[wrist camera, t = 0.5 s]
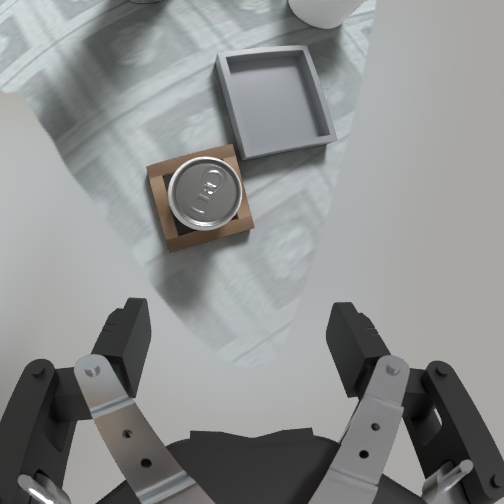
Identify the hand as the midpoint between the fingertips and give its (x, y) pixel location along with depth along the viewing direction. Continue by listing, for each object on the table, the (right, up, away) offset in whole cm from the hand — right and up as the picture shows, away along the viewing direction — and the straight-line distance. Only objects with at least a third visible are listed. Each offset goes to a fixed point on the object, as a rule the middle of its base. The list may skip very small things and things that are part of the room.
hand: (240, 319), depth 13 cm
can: (-6, +9, +23) cm, 25 cm away
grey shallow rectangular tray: (+3, +22, +23) cm, 32 cm away
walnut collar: (-6, +9, +23) cm, 25 cm away
